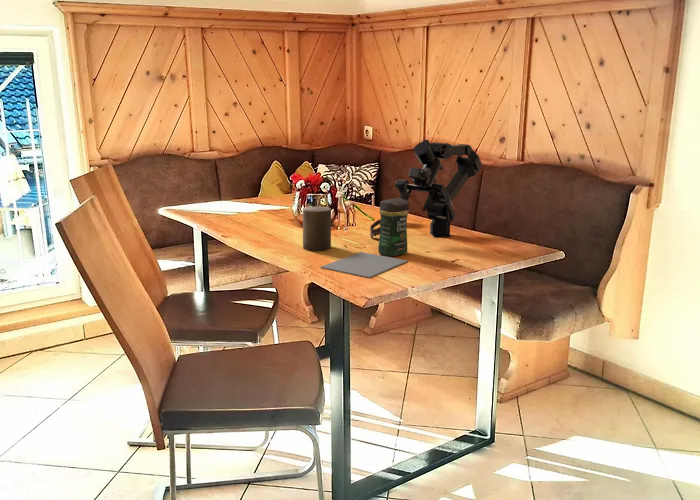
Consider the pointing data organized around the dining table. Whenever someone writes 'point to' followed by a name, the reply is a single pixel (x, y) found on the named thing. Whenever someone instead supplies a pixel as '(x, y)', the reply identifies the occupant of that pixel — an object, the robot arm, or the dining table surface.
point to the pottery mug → (375, 231)
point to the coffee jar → (393, 227)
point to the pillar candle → (316, 228)
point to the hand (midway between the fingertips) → (411, 209)
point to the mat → (364, 264)
